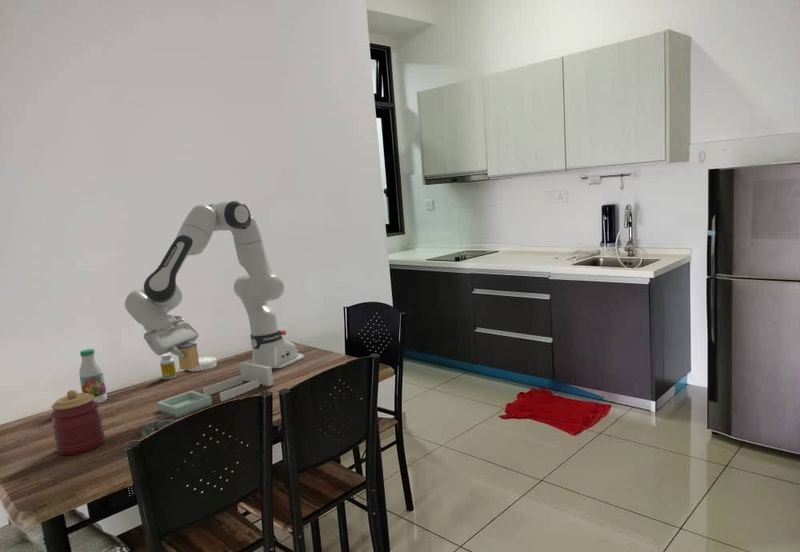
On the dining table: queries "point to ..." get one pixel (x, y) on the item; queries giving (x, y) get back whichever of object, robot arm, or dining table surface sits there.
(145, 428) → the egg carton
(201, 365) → the mooncake
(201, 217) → the robot arm
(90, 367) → the milk bottle
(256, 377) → the dock
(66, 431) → the canister
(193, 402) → the tray
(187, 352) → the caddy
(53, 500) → the dining table surface
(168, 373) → the supplement bottle
